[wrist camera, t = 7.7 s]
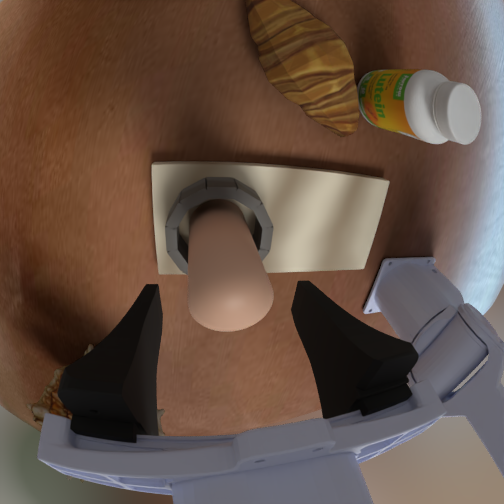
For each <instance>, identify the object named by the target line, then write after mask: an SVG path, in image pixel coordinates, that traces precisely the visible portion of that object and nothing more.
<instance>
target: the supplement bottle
mask: <svg viewBox="0 0 504 504" xmlns="http://www.w3.org/2000/svg"><path fill="white" fill-rule="evenodd" d="M357 94H358V103H359V110H360V112H361V114H362V115H363V117H364V118H365V119H366V120H367V121H368V122H369V123H370V124H372V125H374V126H376V127H379V128H382V129H386V130H389V131H393V132H397V133H400V134H403V135H407V136H410V137H413V138H416V139H419V140H422V141H424V142H428V143H431V144H441V143H444V142H446V141H448V140H450V141H454V142H457V143H460V144H469V143H471V142H473V141H474V140H475V138H476V137H477V135H478V133H479V130H480V125H481V108H480V104H479V100H478V98H477V96H476V94H475V92H474V91H473V90H472V88H471V87H469V86H468V85H466V84H464V83H459V82H453V81H449V80H448V79H447V78H446V77H445V76H443V75H442V74H440V73H438V72H436V71H432V70H420V69H392V70H375V71H371V72H369V73H367V74H365V75H364V76H363V77H362V79H361V80H360V82H359V84H358V87H357Z"/></svg>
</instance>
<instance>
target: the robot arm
mask: <svg viewBox="0 0 504 504" xmlns="http://www.w3.org/2000/svg"><path fill="white" fill-rule="evenodd" d="M435 260H436V259H435V258H434V257H414V258H386V259H384V260H383V262H382V264H381V267H380V270H379V272H378V275H377V277H376V280H375V282H374V285H373V287H372V290H371V292H370V295H369V297H368V299H367V302H366V304H365V306H364V309H363V312H364V313H365V314H368V313H374V312H382V314H383V315H384V316H385V318H386V319H387V321H388V322H389V323H390V325H391V326H392V328H393V329H394V331H395V332H396V334H397V335H398V336H399V338H400V339H401V340H400V339H397V338H394V337H392V336H389V335H387V334H384V333H382V332H380V331H378V330H376V329H374V328H372V327H370V326H368V325H366V324H365V323H363V322H361V321H360V320H358V319H356V318H355V317H353V316H352V315H350V314H349V313H348V312H346V311H345V310H344V309H342V308H341V307H340V306H338V305H337V304H336V303H335V302H333V301H332V300H331V299H330V298H329V297H327V296H326V295H325V294H324V293H323V292H322V291H320V290H319V289H318V288H317V287H316V286H315V285H314V284H312V283H311V282H310V281H298V283H297V287H296V292H295V296H294V300H293V304H292V308H291V311H292V315H293V319H294V323H295V326H296V329H297V331H298V334H299V336H300V338H301V341H302V343H303V346H304V348H305V350H306V353H307V355H308V357H309V360H310V363H311V366H312V370H313V373H314V377H315V381H316V385H317V389H318V393H319V398H320V403H321V408H322V414H323V418H316V419H310V420H305V421H300V422H295V423H289V424H283V425H278V426H270V427H263V428H257V429H252V430H247V431H245V432H242V433H240V434H233V435H218V436H159V431H158V419H157V397H156V373H157V363H158V356H159V349H160V342H161V335H162V320H163V313H162V307H161V300H160V293H159V286H158V284H146V285H145V287H144V288H143V290H142V291H141V293H140V295H139V296H138V298H137V299H136V301H135V302H134V304H133V305H132V306H131V308H130V309H129V311H128V312H127V313H126V315H125V316H124V317H123V319H122V320H121V321H120V322H119V324H118V325H117V326H116V327H115V328H114V329H113V330H112V331H111V333H110V334H109V335H108V336H107V337H106V338H105V339H104V340H102V341H101V342H100V343H99V344H98V345H97V346H96V347H95V348H93V349H92V350H91V351H90V352H88V353H87V354H86V355H84V356H83V357H81V358H80V359H78V360H77V361H75V362H74V363H72V364H70V365H69V366H67V367H65V369H64V371H63V374H62V377H61V380H60V384H59V388H58V392H57V394H58V397H59V399H60V400H61V402H62V403H63V404H64V405H65V406H66V408H67V409H68V410H69V411H70V412H71V413H72V420H70V419H68V418H66V417H63V416H58V415H54V414H50V413H45V416H44V420H43V425H42V430H41V436H40V442H39V448H38V456H37V458H38V459H39V460H40V461H42V462H44V463H45V464H47V465H49V466H51V467H52V468H54V469H56V470H58V471H59V472H61V473H63V474H65V475H69V476H72V477H76V478H79V479H83V480H87V481H91V482H95V483H99V484H104V485H108V486H113V487H118V488H123V489H128V490H134V491H141V492H148V493H157V494H167V495H173V503H174V504H373V501H372V498H371V496H370V493H369V490H368V488H367V485H366V482H365V480H364V477H363V475H362V472H361V469H360V467H359V463H362V462H364V461H366V460H369V459H371V458H373V457H375V456H378V455H380V454H382V453H384V452H386V451H388V450H390V449H392V448H394V447H396V446H398V445H400V444H402V443H404V442H406V441H408V440H409V439H411V438H413V437H415V436H417V435H419V434H420V433H422V432H424V431H425V430H426V429H427V428H429V427H430V426H431V425H432V424H434V423H435V422H436V421H437V420H438V419H440V418H441V417H455V416H465V417H466V418H467V420H468V421H469V423H470V424H471V426H472V427H473V429H474V430H475V432H476V433H477V435H478V436H479V438H480V439H481V441H482V442H483V444H484V445H485V447H486V449H487V450H488V452H489V454H490V455H491V457H492V458H493V460H494V461H495V463H496V465H497V467H498V469H499V470H500V472H501V474H502V476H503V477H504V387H503V385H502V384H501V377H502V373H503V370H504V342H503V341H502V340H501V339H500V337H499V336H498V334H497V333H496V331H495V329H494V328H493V327H492V326H491V324H490V323H489V322H488V321H487V320H486V318H485V317H484V316H483V315H482V314H481V313H480V312H479V311H478V310H477V309H475V308H474V307H473V306H472V305H470V304H469V303H465V304H464V300H463V297H462V295H461V293H460V291H459V290H458V289H457V288H456V287H455V286H454V285H453V284H452V283H451V282H450V281H449V280H448V279H447V278H446V277H445V276H444V275H443V274H442V273H441V272H440V271H439V270H438V269H437V268H436V267H435V266H434V263H435ZM488 354H489V357H488V361H487V362H486V363H485V364H484V365H483V366H482V367H481V368H480V369H479V370H478V371H477V372H476V373H475V375H474V376H472V377H471V378H470V379H469V381H467V382H466V383H465V384H464V385H463V386H462V387H461V388H460V389H458V390H457V391H455V392H452V391H453V390H454V389H455V388H456V387H457V386H458V385H459V384H460V383H461V382H462V381H463V380H464V379H465V378H466V377H467V376H468V375H469V374H470V373H471V372H472V371H473V370H474V369H475V368H476V367H477V366H478V365H479V364H480V363H481V361H483V359H484V358H485V357H486V356H487V355H488ZM407 383H408V385H409V386H408V385H407ZM409 387H410V388H409Z"/></svg>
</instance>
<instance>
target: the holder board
mask: <svg viewBox="0 0 504 504" xmlns="http://www.w3.org/2000/svg"><path fill="white" fill-rule="evenodd" d="M389 182H390V181H388V180H386V179H384V178H380V177H375V176H369V175H362V174H356V173H349V172H342V171H334V170H326V169H317V168H308V167H298V166H287V165H275V164H260V163H241V162H208V161H173V162H153V164H152V196H153V215H154V229H155V241H156V252H157V262H158V271H159V274H187V275H188V248H189V223H190V219H191V216H192V214H193V212H194V211H195V210H196V208H197V207H199V206H200V205H201V204H203V203H205V202H207V201H209V200H214V199H223V200H227V201H230V202H232V203H234V204H235V205H236V206H238V207H239V209H240V210H241V211H242V213H243V215H244V218H245V220H246V223H247V225H248V228H249V230H250V233H251V235H252V238H253V240H254V243H255V245H256V248H257V250H258V253H259V255H260V258H261V260H262V263H263V265H264V268H265V270H266V273H271V272H303V271H330V270H353V269H364V266H365V264H366V261H367V258H368V255H369V252H370V249H371V246H372V242H373V239H374V236H375V233H376V230H377V226H378V223H379V219H380V216H381V212H382V209H383V205H384V201H385V198H386V194H387V190H388V186H389Z"/></svg>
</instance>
